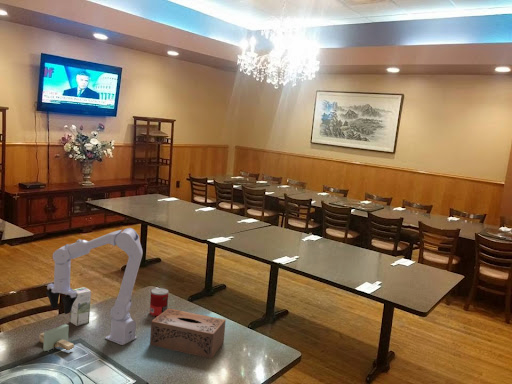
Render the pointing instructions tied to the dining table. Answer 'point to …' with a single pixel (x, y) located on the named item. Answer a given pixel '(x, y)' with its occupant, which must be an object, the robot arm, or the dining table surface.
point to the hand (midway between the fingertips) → (60, 310)
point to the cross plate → (55, 336)
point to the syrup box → (81, 307)
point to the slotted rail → (58, 343)
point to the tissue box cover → (188, 332)
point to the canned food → (158, 301)
